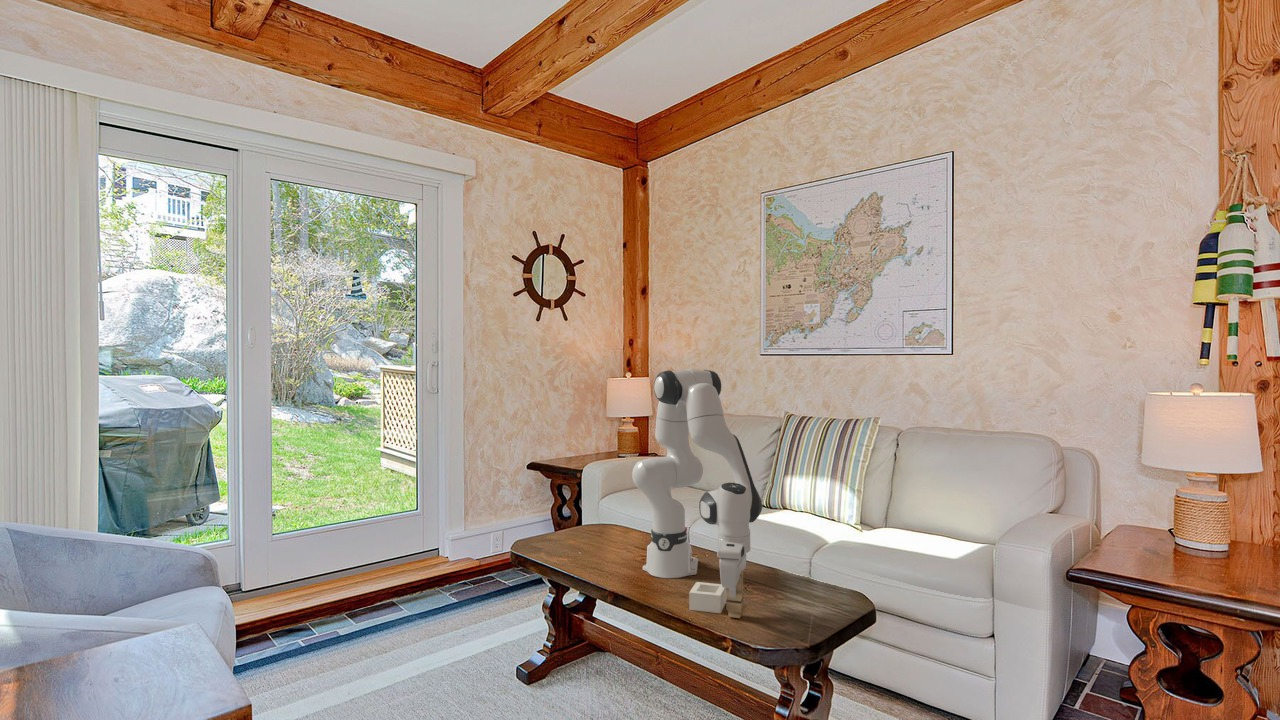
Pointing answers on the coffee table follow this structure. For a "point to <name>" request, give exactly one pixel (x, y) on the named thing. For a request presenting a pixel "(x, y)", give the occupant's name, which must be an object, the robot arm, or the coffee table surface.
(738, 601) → the oak peg
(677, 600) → the coffee table surface
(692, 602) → the socket board
